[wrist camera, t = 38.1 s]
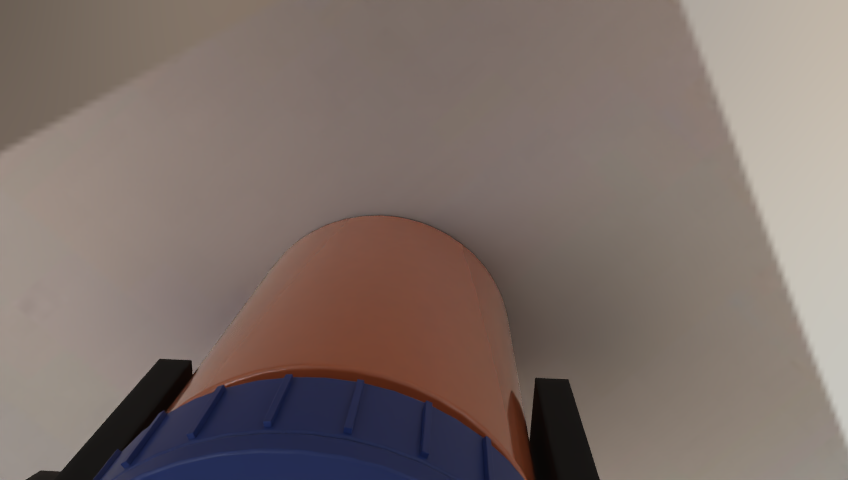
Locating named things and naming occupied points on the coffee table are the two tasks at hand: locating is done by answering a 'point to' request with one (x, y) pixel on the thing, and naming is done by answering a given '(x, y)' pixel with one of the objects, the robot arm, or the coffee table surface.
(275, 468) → the jar lid
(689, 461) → the coffee table surface
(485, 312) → the jar
